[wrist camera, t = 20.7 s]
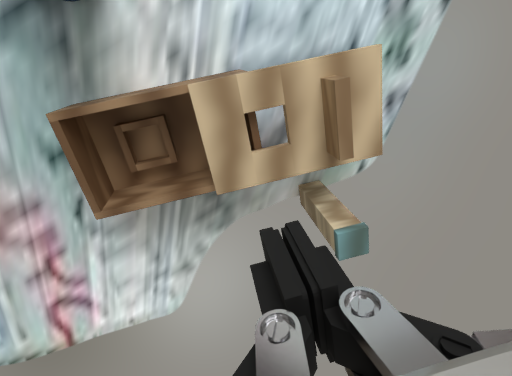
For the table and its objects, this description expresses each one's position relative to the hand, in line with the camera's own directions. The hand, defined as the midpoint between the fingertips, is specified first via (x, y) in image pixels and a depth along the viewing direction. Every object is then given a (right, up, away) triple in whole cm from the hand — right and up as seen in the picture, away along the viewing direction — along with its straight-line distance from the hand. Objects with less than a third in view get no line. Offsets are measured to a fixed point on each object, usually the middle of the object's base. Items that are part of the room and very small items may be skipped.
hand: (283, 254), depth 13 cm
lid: (+3, +10, +20) cm, 23 cm away
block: (+7, +2, +33) cm, 33 cm away
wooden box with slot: (-12, +10, +26) cm, 30 cm away
